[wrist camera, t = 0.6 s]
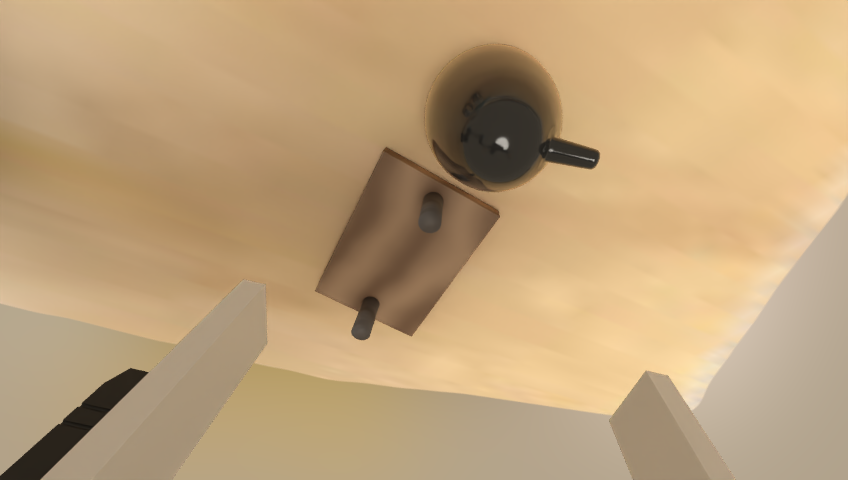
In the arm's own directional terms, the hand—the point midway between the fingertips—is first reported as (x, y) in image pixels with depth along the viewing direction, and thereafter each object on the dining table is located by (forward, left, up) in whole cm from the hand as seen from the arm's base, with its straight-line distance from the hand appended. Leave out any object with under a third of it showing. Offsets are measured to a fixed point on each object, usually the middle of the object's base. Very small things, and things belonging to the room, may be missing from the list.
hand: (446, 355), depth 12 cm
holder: (0, -11, -24) cm, 27 cm away
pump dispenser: (0, +6, -25) cm, 25 cm away
